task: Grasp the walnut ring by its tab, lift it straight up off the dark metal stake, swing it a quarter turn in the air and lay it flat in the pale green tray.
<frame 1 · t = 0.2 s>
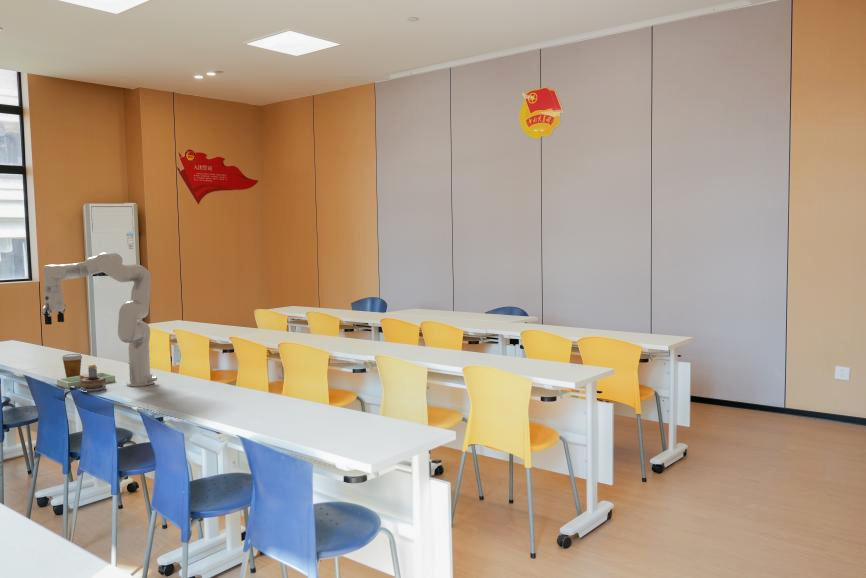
hand: (54, 323, 349), 31 cm above the table, fingers open, 9 cm apart
ring: (93, 383, 334), point 3 cm above the table, touching stake, tray
tray: (86, 383, 349), on the table
disposable coffee cup: (73, 378, 365), on the table
stake: (93, 389, 334), on the table
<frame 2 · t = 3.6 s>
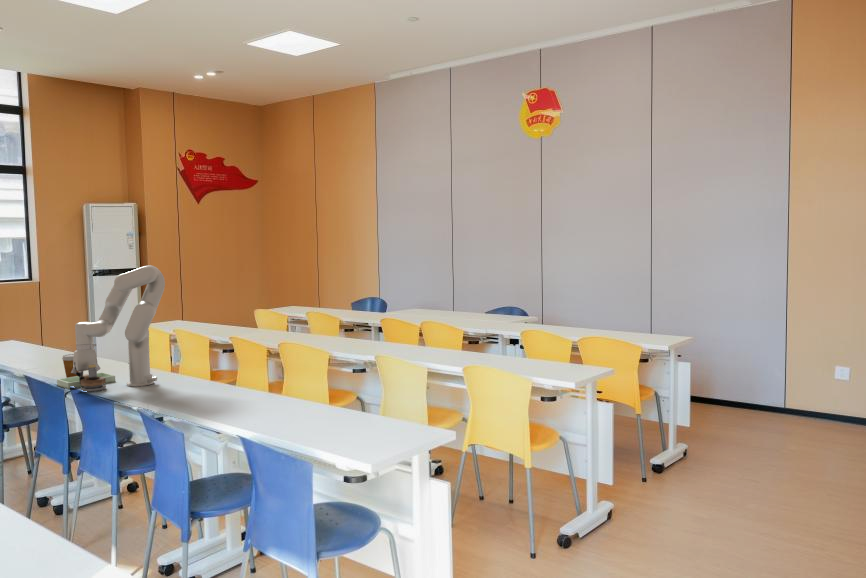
hand: (86, 384, 339), 2 cm above the table, fingers closed on ring, 3 cm apart
ring: (93, 383, 334), point 3 cm above the table, touching gripper, tray
everything else where it was.
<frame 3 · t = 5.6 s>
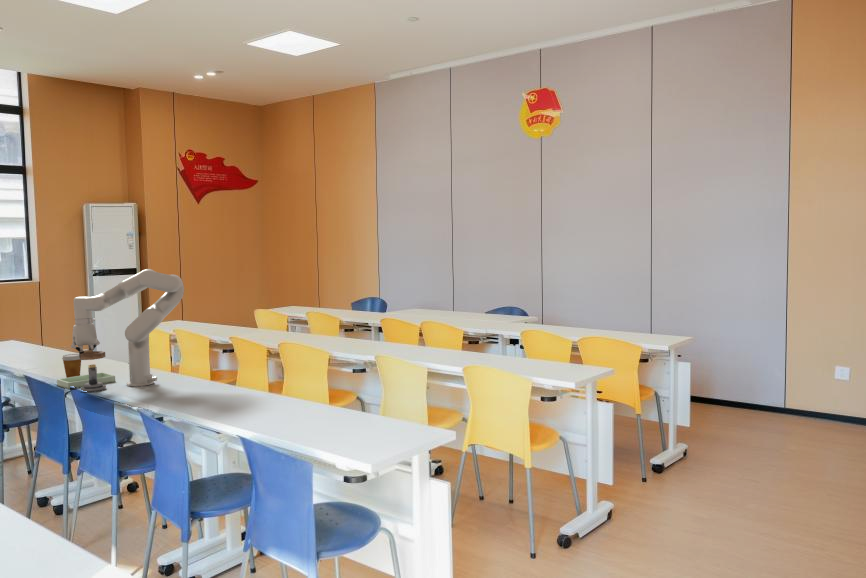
hand: (86, 358, 338), 14 cm above the table, fingers closed on ring, 3 cm apart
ring: (93, 357, 333), point 16 cm above the table, touching gripper
everything else where it was.
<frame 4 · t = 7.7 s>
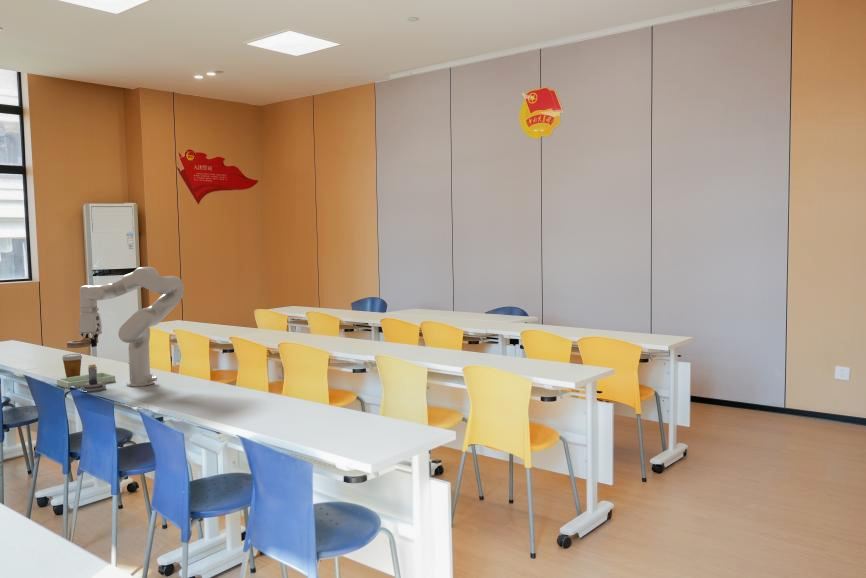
hand: (90, 346, 347), 19 cm above the table, fingers closed on ring, 3 cm apart
ring: (78, 346, 339), point 20 cm above the table, touching gripper
everything else where it was.
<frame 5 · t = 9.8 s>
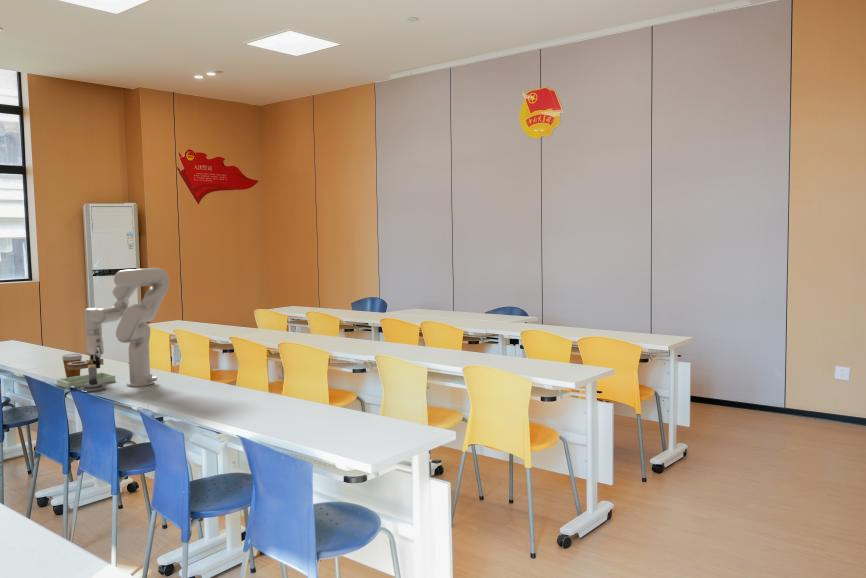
hand: (95, 367, 352), 7 cm above the table, fingers closed on ring, 3 cm apart
ring: (78, 367, 346), point 9 cm above the table, touching gripper
everything else where it was.
when the fingers open (1 cm above the table, at t = 11.4 s): ring drops 2 cm, resting on tray.
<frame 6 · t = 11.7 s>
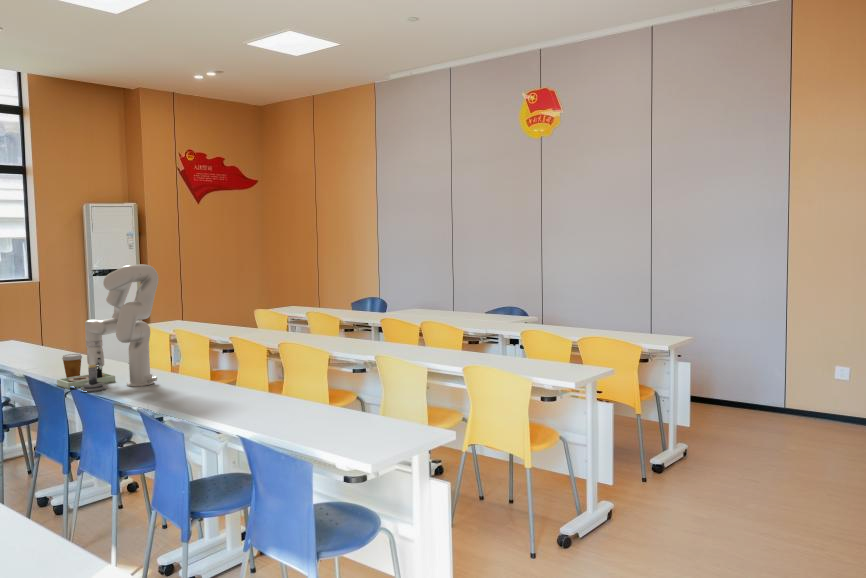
hand: (96, 378, 353), 2 cm above the table, fingers open, 6 cm apart
ring: (80, 383, 347), point 1 cm above the table, touching tray
everything else where it was.
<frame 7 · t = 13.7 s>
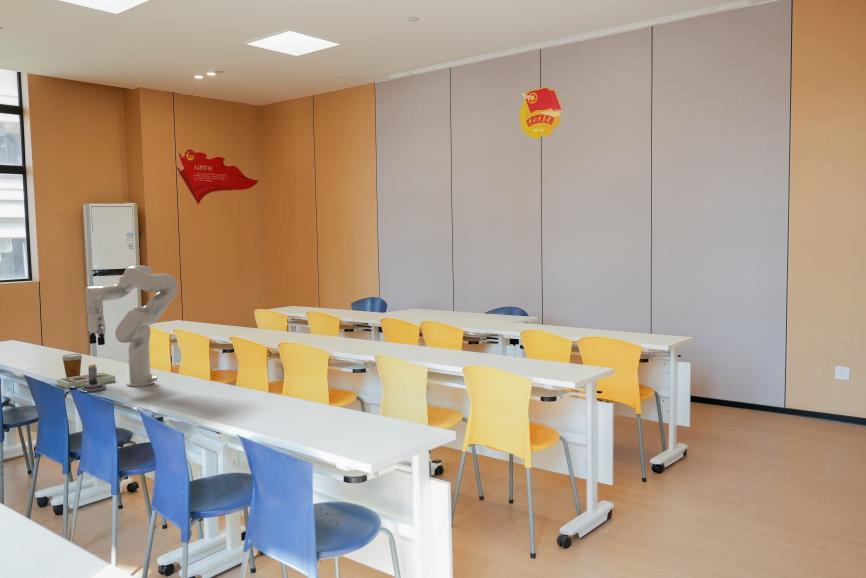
hand: (97, 344, 353), 19 cm above the table, fingers open, 9 cm apart
nothing on the table moved.
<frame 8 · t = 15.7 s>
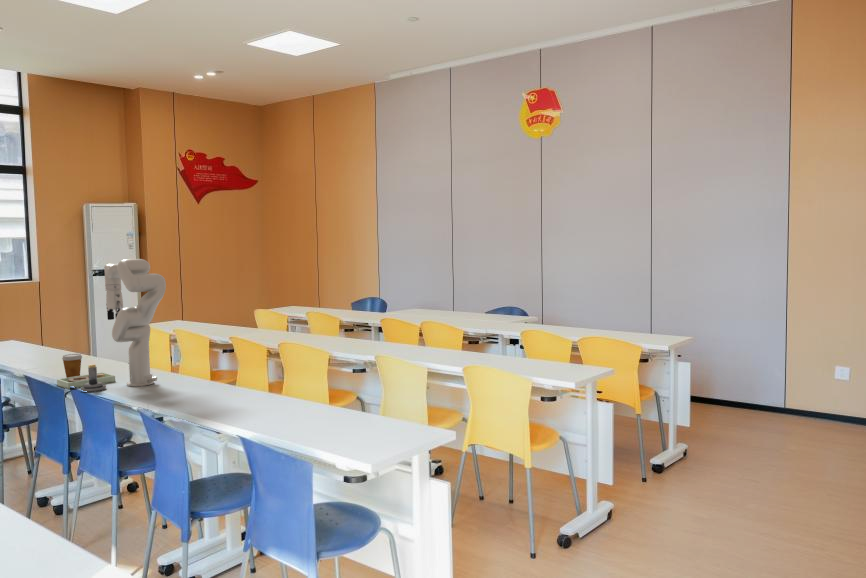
hand: (114, 320, 362), 30 cm above the table, fingers open, 9 cm apart
nothing on the table moved.
at the end: ring inside the target area on the tray (0.1 cm from its centre), point 0.6 cm above the tray's base; ring tilted 0°; the gripper is holding nothing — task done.
